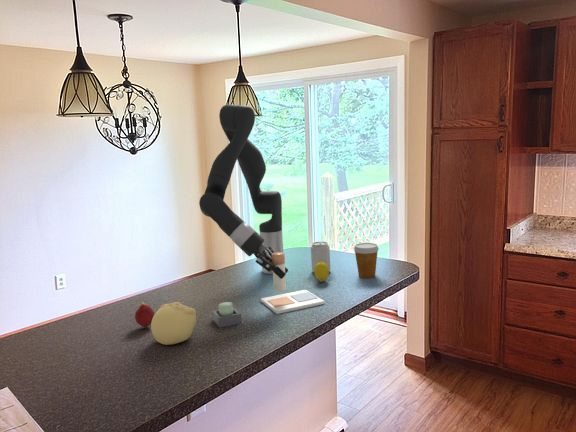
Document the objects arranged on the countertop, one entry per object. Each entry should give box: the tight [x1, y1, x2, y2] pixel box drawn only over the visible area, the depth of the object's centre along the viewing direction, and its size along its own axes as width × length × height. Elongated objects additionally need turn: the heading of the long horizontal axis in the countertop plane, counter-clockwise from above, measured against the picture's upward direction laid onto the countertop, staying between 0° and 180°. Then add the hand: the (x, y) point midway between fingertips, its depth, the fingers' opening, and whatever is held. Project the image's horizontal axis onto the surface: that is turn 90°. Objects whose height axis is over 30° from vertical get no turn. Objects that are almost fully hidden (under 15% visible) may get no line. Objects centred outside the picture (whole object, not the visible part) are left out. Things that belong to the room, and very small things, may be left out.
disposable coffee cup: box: [353, 242, 380, 279], centre depth 187 cm, size 10×10×12 cm
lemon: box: [313, 261, 330, 283], centre depth 183 cm, size 6×6×8 cm
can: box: [310, 241, 331, 273], centre depth 196 cm, size 8×8×12 cm
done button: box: [218, 301, 234, 317], centre depth 149 cm, size 4×4×4 cm
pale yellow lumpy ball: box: [150, 301, 197, 346], centre depth 138 cm, size 11×12×11 cm
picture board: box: [260, 289, 325, 315], centre depth 163 cm, size 14×17×1 cm
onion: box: [134, 302, 156, 328], centre depth 148 cm, size 6×6×8 cm
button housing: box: [211, 306, 242, 329], centre depth 150 cm, size 7×7×3 cm
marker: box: [272, 252, 287, 292], centre depth 160 cm, size 4×4×12 cm
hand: (284, 274), depth 159 cm, fingers closed on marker, 4 cm apart
